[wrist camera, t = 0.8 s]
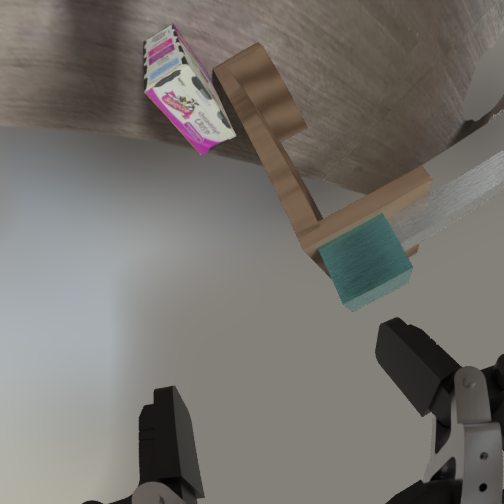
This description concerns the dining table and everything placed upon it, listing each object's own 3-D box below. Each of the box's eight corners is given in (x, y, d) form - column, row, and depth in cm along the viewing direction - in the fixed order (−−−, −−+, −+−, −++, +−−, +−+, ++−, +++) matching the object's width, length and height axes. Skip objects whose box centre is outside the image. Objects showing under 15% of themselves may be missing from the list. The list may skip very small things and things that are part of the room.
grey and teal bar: (317, 247, 23) (342, 304, 21) (515, 135, 16) (546, 176, 14) (332, 266, 28) (352, 311, 26) (501, 168, 21) (527, 205, 19)
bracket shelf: (212, 69, 37) (303, 251, 22) (281, 30, 33) (433, 181, 19) (267, 141, 54) (344, 293, 39) (320, 112, 50) (417, 254, 36)
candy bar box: (140, 42, 29) (141, 92, 22) (172, 22, 28) (188, 61, 21) (181, 92, 39) (200, 158, 31) (209, 76, 38) (239, 136, 30)
